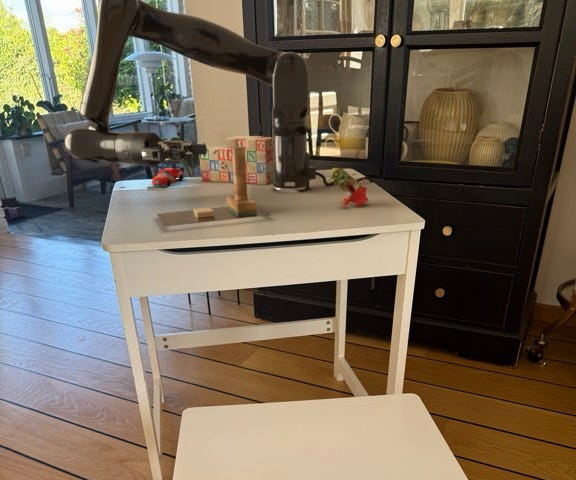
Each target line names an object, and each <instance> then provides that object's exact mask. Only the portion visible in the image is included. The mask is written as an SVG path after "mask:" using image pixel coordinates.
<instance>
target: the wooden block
mask: <svg viewBox="0 0 576 480" xmlns="http://www.w3.org/2000/svg"><path fill="white" fill-rule="evenodd" d="M211 208H212V207H210V206H209V207H199V208H193V209H192V210H193V211H194V215H195V216H196V217H197V218H202V217H212V216H215V215H214V210H212V209H211Z"/></svg>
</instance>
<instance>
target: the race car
mask: <svg viewBox="0 0 576 480" xmlns="http://www.w3.org/2000/svg"><path fill="white" fill-rule="evenodd" d="M176 178H179V179H176ZM184 178H185V177H184V172H183V170H182V169H179V168H175V167H174V168H173V167H166V168H163V169H161V170H160V171H159V172H157V173H156V175H155V176H154V177H152V179H151V184H152V186H154V187H157V186H166V187H170V186H171V185H172V184H175V183H177V182H182V181H183V179H184Z"/></svg>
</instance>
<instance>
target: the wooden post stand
mask: <svg viewBox="0 0 576 480" xmlns="http://www.w3.org/2000/svg"><path fill="white" fill-rule="evenodd" d="M231 152H232V167H233V182H232V183H233V195H227V196H226V205H227V207H228V209H229V210H231V211H232V212H233V213H234V214H235V215H237V216H247V215H256V214H257V211H256V205H257V201H255V200H254V199H252V198H251V197H250V196H248V183H247V179H246V160H245V147H244V146H234V147H231Z"/></svg>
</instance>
